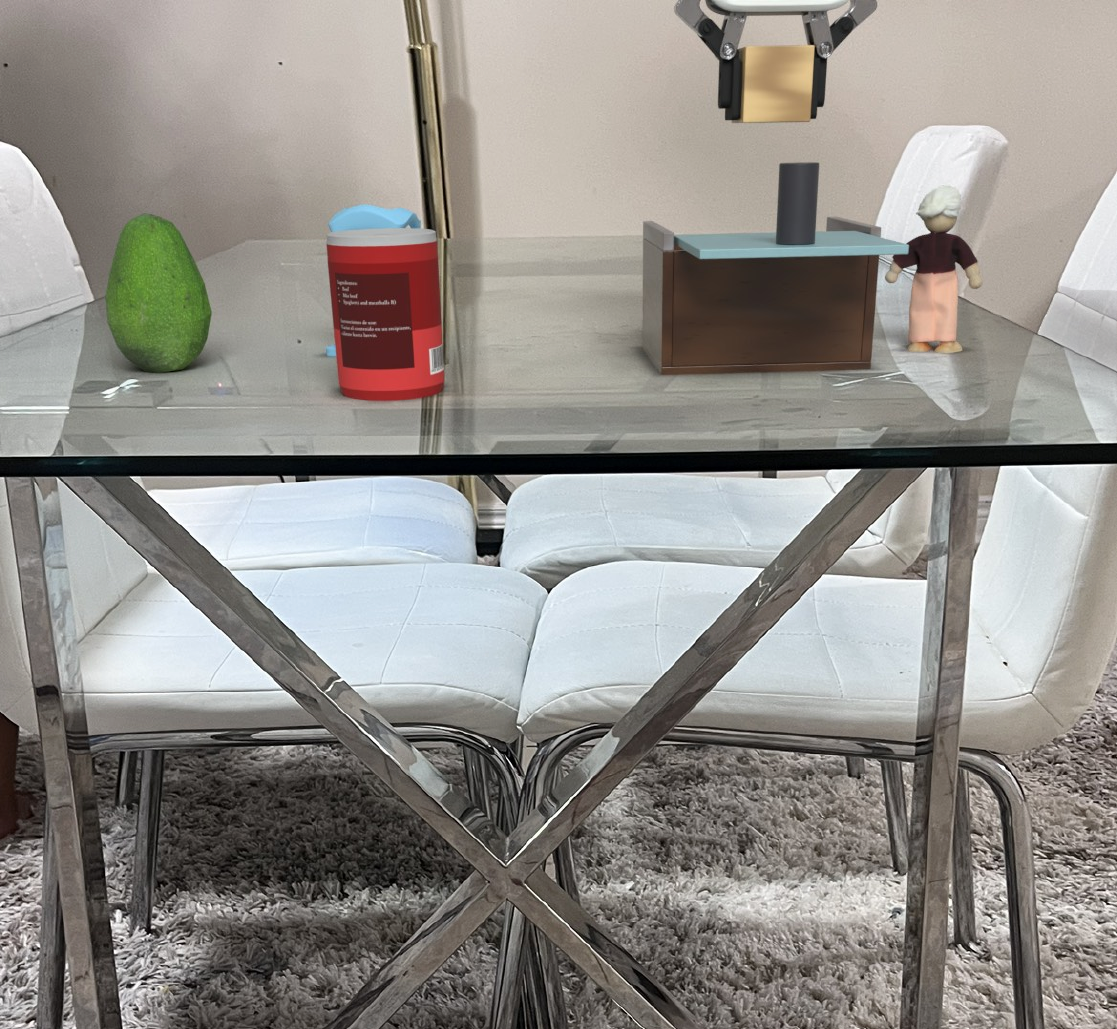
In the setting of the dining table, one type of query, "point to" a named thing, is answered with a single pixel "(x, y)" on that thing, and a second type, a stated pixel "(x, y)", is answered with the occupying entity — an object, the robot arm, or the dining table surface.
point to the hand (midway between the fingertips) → (770, 116)
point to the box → (757, 309)
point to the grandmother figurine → (936, 273)
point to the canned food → (386, 313)
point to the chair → (371, 225)
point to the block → (776, 83)
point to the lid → (791, 228)
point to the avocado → (156, 297)
